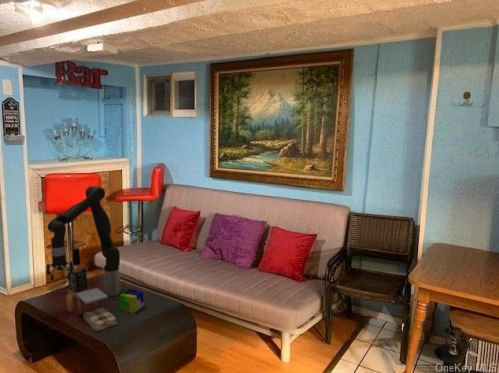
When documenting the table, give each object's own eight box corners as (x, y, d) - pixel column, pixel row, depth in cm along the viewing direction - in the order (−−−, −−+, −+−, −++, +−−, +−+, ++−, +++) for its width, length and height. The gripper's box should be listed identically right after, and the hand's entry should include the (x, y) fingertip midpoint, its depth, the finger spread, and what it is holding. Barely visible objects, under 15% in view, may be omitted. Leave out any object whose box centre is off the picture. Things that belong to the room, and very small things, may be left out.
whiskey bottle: (67, 295, 262) (64, 249, 257) (80, 290, 270) (77, 245, 265) (76, 299, 257) (74, 252, 252) (89, 293, 265) (87, 248, 260)
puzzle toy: (143, 306, 248) (143, 291, 247) (134, 313, 239) (133, 297, 237) (130, 303, 252) (129, 289, 250) (120, 310, 242) (119, 295, 241)
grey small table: (98, 307, 246) (97, 287, 244) (108, 316, 234) (107, 296, 232) (76, 313, 237) (75, 293, 235) (86, 323, 225) (85, 302, 223)
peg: (71, 308, 243) (71, 293, 242) (73, 310, 241) (72, 295, 239) (66, 310, 241) (65, 295, 239) (68, 312, 239) (67, 296, 237)
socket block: (103, 313, 238) (103, 307, 237) (116, 324, 225) (116, 318, 224) (83, 319, 230) (83, 313, 229) (95, 331, 217) (95, 325, 216)
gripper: (72, 250, 240) (73, 275, 242) (46, 253, 234) (48, 278, 237) (71, 254, 233) (73, 279, 235) (44, 257, 228) (46, 283, 230)
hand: (60, 279), depth 236 cm, fingers open, 8 cm apart
